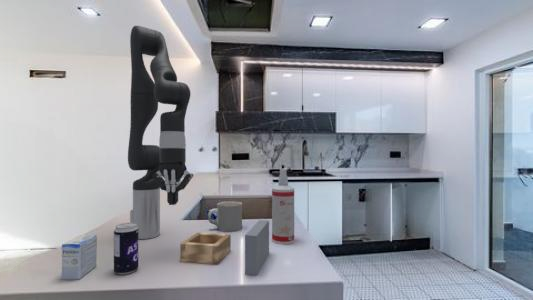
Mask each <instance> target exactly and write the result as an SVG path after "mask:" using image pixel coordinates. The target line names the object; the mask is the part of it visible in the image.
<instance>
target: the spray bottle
mask: <svg viewBox="0 0 533 300" xmlns="http://www.w3.org/2000/svg"><path fill="white" fill-rule="evenodd" d="M277 183H278V185H277V186H274V187H272V188H271V242H273V243H274V244H278V245H286V246H287V245H290V244H291V245H292V244H294V243H295V187H292V186H290V185H289V178H288V174H287V168H279V177H278V182H277Z"/></svg>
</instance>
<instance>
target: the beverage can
mask: <svg viewBox="0 0 533 300" xmlns="http://www.w3.org/2000/svg"><path fill="white" fill-rule="evenodd" d="M138 234H139V229H138V227H137V224H136V223H130V222H123V223H119V224H116V225H115V229H114V230H113V272H114V273H116V274H117V275H123V276H124V275H130V274H132V273H134V272H135V271H136V270H138V268H139V239H138Z"/></svg>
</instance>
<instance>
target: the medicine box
mask: <svg viewBox="0 0 533 300" xmlns="http://www.w3.org/2000/svg"><path fill="white" fill-rule="evenodd" d="M97 240H98V239H97V235H96V234H80V235H78V236H75V237H74V238H72V239H70V240H68V241H67V242H64V243H62V245H61V280H63V281H66V280H67V281H71V280H72V281H73V280H81V279H82V278H83V277H85V276H86V275H88V273H90V271H92V270H93V269H94V268H96V267H97V258H98V257H97V255H98V253H97V250H98V249H97V247H98V243H97V242H98V241H97Z"/></svg>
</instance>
